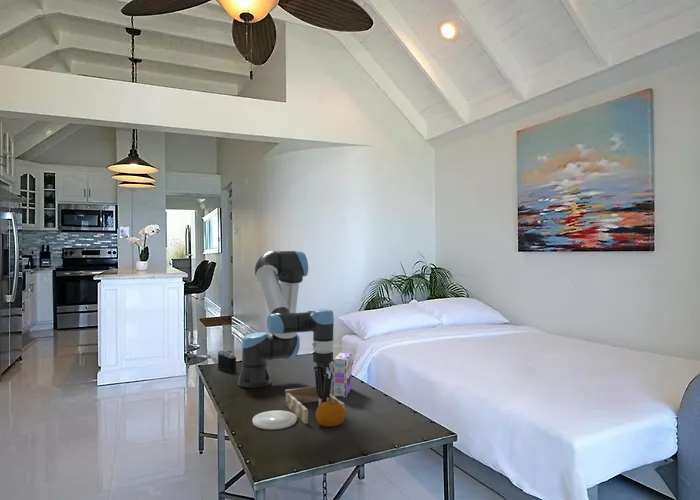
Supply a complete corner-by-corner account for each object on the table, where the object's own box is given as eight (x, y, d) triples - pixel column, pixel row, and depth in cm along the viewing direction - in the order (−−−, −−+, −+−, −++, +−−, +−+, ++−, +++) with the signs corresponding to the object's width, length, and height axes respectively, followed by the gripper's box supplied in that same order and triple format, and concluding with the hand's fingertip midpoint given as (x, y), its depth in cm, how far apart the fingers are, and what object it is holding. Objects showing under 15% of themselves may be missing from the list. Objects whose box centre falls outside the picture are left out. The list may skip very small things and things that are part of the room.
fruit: (342, 431, 159) (342, 408, 159) (312, 429, 161) (312, 406, 161) (347, 420, 169) (347, 398, 169) (319, 418, 171) (319, 397, 171)
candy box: (345, 398, 196) (346, 359, 196) (332, 397, 197) (332, 358, 197) (352, 388, 209) (352, 352, 209) (339, 387, 210) (339, 352, 210)
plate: (248, 417, 172) (248, 413, 172) (289, 411, 179) (289, 407, 179) (258, 432, 157) (258, 428, 157) (302, 425, 164) (302, 421, 164)
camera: (242, 370, 241) (242, 351, 241) (230, 372, 236) (230, 353, 236) (227, 365, 251) (227, 347, 251) (216, 367, 246) (216, 348, 246)
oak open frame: (285, 404, 187) (285, 389, 187) (321, 399, 193) (321, 385, 194) (304, 423, 166) (304, 407, 166) (344, 417, 173) (344, 401, 173)
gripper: (307, 348, 176) (307, 410, 175) (320, 355, 164) (319, 421, 164) (325, 347, 179) (325, 407, 179) (339, 353, 167) (339, 418, 167)
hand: (322, 414), depth 171 cm, fingers closed
